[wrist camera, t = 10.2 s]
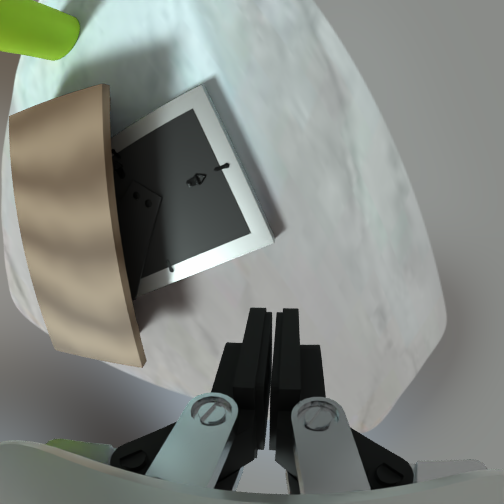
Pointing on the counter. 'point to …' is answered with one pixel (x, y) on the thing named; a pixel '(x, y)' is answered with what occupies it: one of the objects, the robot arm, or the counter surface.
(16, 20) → the soap dispenser
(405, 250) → the counter surface
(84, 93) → the walnut shelf
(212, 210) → the picture frame
